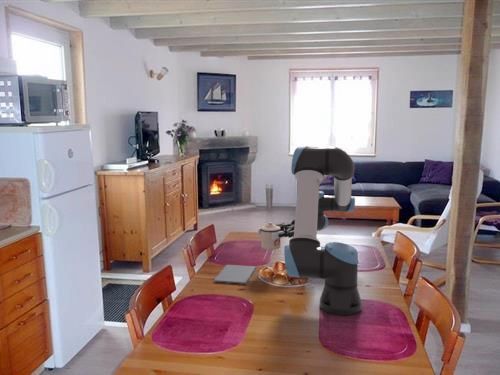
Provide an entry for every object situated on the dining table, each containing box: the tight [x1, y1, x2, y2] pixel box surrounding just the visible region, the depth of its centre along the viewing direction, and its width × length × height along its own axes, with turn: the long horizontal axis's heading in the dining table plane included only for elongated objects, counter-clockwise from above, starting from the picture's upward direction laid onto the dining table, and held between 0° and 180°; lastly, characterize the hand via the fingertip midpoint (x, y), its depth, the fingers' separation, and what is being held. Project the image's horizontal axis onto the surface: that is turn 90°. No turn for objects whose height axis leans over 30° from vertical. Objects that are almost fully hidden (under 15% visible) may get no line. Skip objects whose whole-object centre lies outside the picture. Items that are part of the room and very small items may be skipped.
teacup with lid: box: [260, 221, 281, 251], centre depth 199 cm, size 12×9×12 cm
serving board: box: [213, 264, 257, 285], centre depth 195 cm, size 20×14×1 cm
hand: (265, 234), depth 196 cm, fingers closed on teacup with lid, 9 cm apart
